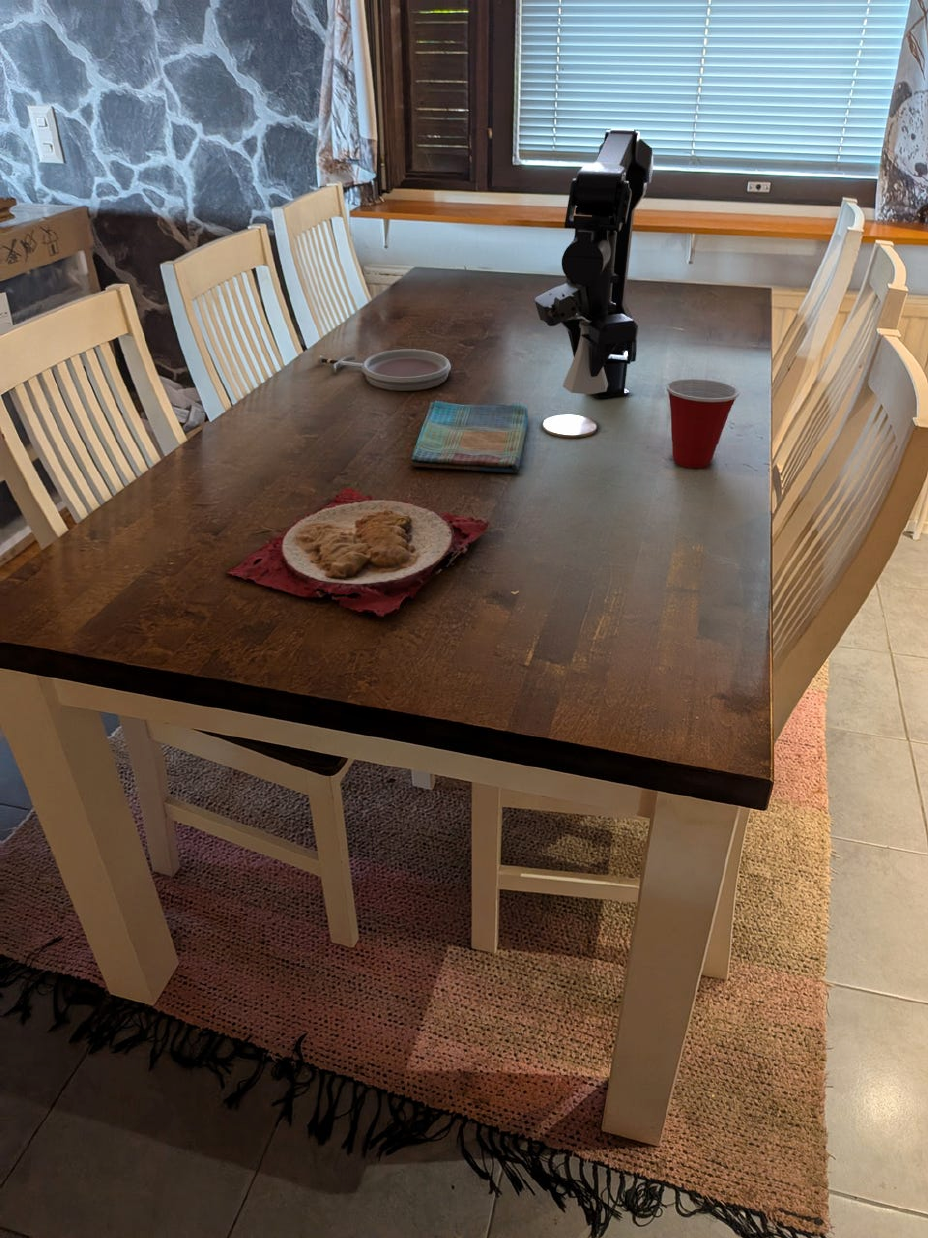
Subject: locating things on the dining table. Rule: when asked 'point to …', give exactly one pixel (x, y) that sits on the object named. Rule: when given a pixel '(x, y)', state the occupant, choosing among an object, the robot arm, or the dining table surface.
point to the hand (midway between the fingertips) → (586, 370)
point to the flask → (584, 370)
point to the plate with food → (361, 551)
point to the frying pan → (400, 369)
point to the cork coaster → (569, 426)
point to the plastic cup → (698, 418)
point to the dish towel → (472, 437)
